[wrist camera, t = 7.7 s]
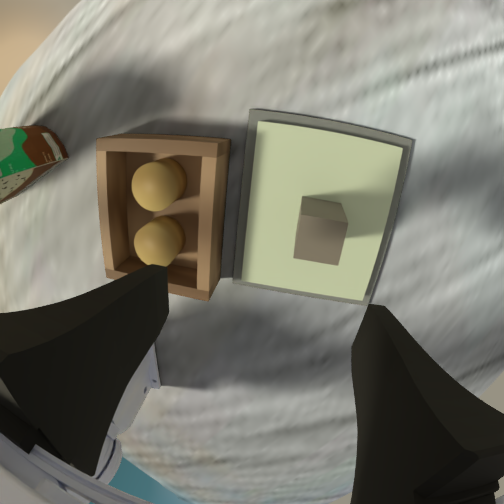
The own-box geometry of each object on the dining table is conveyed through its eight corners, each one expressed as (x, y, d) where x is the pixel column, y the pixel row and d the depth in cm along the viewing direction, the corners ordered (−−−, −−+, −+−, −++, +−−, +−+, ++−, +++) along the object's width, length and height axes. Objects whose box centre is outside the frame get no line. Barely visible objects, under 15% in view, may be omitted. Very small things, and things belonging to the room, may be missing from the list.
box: (220, 278, 22) (208, 301, 20) (126, 259, 23) (106, 277, 20) (231, 139, 18) (217, 143, 15) (121, 133, 19) (96, 138, 16)
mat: (366, 303, 21) (367, 305, 21) (233, 281, 22) (232, 283, 22) (410, 139, 16) (412, 140, 15) (250, 109, 17) (249, 109, 16)
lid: (361, 296, 20) (369, 333, 17) (242, 276, 21) (229, 310, 18) (399, 147, 16) (424, 156, 12) (259, 121, 17) (246, 122, 13)
